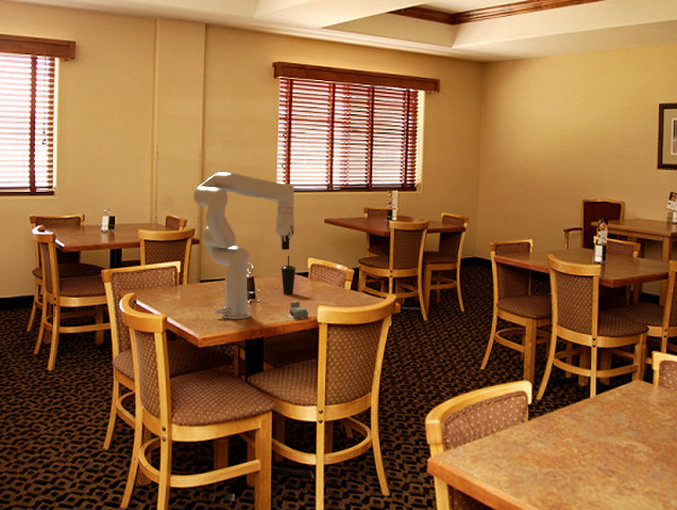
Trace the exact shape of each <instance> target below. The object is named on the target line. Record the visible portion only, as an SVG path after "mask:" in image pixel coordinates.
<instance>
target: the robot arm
mask: <svg viewBox="0 0 677 510" xmlns="http://www.w3.org/2000/svg"><path fill="white" fill-rule="evenodd" d="M294 188H295V187H294V185H293V184H288V183H286V184H285V183H279V182H275V181H270V180H264V179H261V178H257V177H253V176H249V175H248V176H247V175H244V174H240V173H236V172H223V171H219V172H217V173H215V174H213V175H212V176H210V177H209V178H208V179H207V180H204V182H202V183H201V184H200V185H199V186H198V187H197V188H196V189H195V190H194V193H193V201H194V202H195V204H196V205H198V206H200V207H207V210H206V214H205V219H204V220H205V224H206V227H204V229H203V231H202V233H201V235H202V236H201V237H202V242H203V244H204V247H205V248H206V250H207V251H208V253H209V255H210V256H211V258H212V260H213V261H214V262H215V263H216V264H218V265H220V266H227V267H228V268H227V270H226V272H225V278H224V283H225V285H224V294H225V295H224V297H225V298H224V299H225V301H224V302H225V305H223V306H222V307H223V308H221V309H220V308H219V309H215V311H214V314H216V315H218V314H220V315H221V317H222V318H223V317H224V319H227V318H228V320H242V319H244V320H245V319H248V318H250V317H251V312H250V311H248V267H249V264H250V263H249V262H250V254H249V251H248V250H247V249H246V248H245V247H243V246H239V245H236V242H237V239H236V238H237V237H236V234H235V232H234V230H233V228H232V226H231V225H230V224H229V223H230V222H228V219H227V218H226V215H225V212H226V207H227V203H228V200H229V196H228V193H232V194H237V195H240V196H241V195H242V196H246V197H252V198H258V199H259V198H262V199H263V198H264V200H266V201H274V202H277V214H276V219H275V220H276V221H275V222H276V223H275V233H276V234H277V235H278V237H280V241H281V250H282V251H283V250H285V251H287V250H290V242H291V239H293V235H295V217H294V214H295V213H294V211H295V209H294V207H295V206H294V205H295V204H294V202H295V200H294V199H295V197H294V196H295V189H294Z"/></svg>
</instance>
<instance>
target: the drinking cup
mask: <svg viewBox="0 0 677 510" xmlns="http://www.w3.org/2000/svg"><path fill="white" fill-rule="evenodd" d="M280 269H281V278H282V279H281V281H282V291H283V295H285V294H292V295H293V294H294V287H295V278H296V277H295V276H296V275H295V274H296V269H297V268H296V267H294V266H293V265H290V255H287V265H284V266H281V267H280Z"/></svg>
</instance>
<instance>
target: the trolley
mask: <svg viewBox="0 0 677 510" xmlns="http://www.w3.org/2000/svg"><path fill="white" fill-rule="evenodd" d="M304 311H308V309H307V308H306V307H303V306H300V301H294V302H290V306H289V314H291V315H293V313H296V312H304Z"/></svg>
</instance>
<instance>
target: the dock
mask: <svg viewBox="0 0 677 510" xmlns="http://www.w3.org/2000/svg"><path fill="white" fill-rule="evenodd" d="M308 314H309V311H308V310H307V311H304V312H296V313H293V315H286V316H285V317H287V316H288V317H287V318H289V317H291V318H290V319H292V318H293V319H292V320H294V319H295V320H298V319H297V318H302V319H305V318H304V317H308V318H309V315H308Z"/></svg>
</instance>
